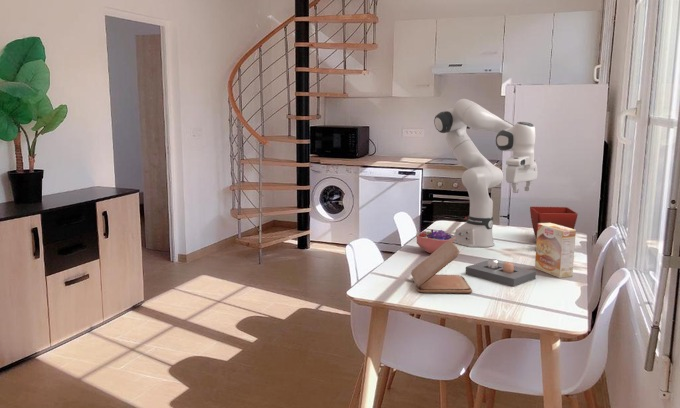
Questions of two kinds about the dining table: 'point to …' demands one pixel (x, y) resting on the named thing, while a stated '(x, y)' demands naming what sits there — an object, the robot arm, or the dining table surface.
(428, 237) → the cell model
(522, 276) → the housing
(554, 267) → the coffeecake box
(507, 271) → the tan oval egg shape
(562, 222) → the plant pot
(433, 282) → the case
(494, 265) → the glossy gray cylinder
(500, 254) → the dining table surface
